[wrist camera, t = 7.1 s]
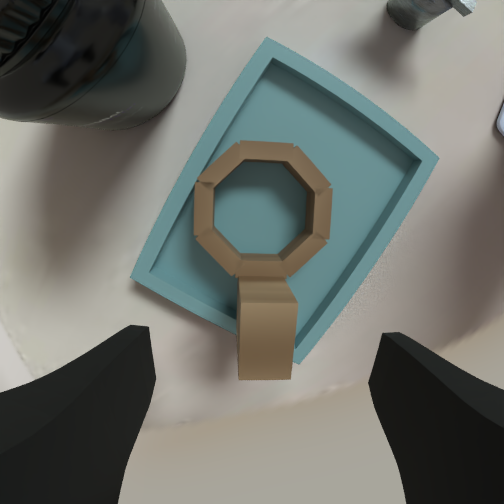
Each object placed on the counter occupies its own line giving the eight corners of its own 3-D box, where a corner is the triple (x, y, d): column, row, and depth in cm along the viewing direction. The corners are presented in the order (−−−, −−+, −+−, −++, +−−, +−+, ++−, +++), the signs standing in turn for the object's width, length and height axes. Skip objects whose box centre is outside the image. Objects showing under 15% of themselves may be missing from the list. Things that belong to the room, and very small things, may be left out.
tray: (425, 156, 15) (439, 158, 14) (296, 350, 19) (299, 364, 17) (264, 46, 14) (266, 36, 12) (138, 267, 17) (129, 277, 16)
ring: (200, 144, 14) (185, 124, 10) (324, 150, 15) (364, 136, 10) (197, 325, 16) (186, 378, 11) (311, 326, 17) (339, 376, 12)
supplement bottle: (113, 157, 15) (-78, 187, 4) (56, 74, 14) (-107, 37, 2) (217, 74, 14) (148, -76, 3) (148, -5, 12) (45, -134, 1)
